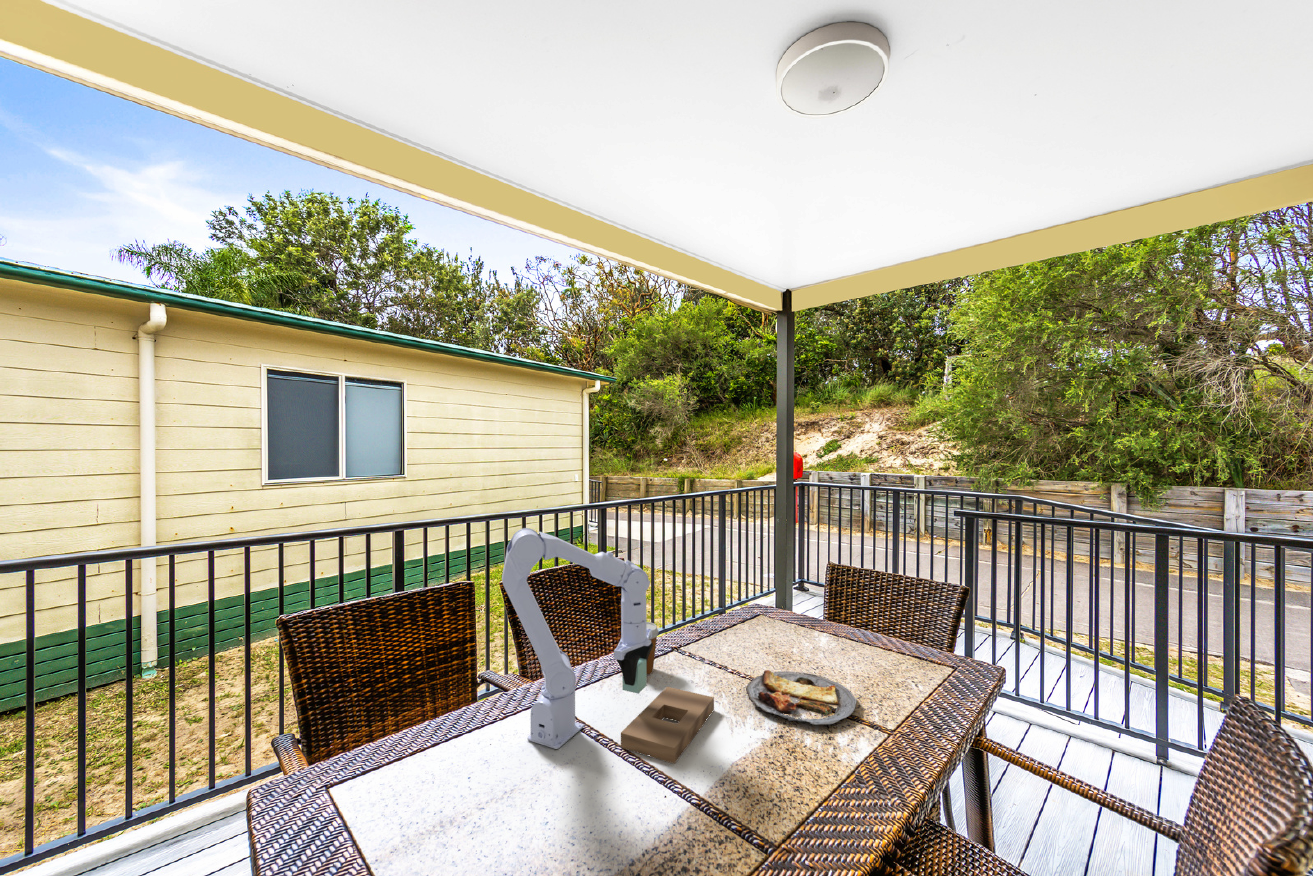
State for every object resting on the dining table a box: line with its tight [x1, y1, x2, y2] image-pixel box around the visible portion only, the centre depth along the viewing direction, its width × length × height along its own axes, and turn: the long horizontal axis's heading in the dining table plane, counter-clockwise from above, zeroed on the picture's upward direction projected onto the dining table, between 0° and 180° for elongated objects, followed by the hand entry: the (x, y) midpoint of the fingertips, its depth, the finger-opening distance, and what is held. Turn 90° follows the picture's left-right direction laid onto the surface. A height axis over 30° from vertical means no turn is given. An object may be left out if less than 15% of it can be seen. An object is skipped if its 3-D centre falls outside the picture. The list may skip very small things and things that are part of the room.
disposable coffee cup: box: [646, 621, 659, 675], centre depth 137 cm, size 10×10×12 cm
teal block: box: [621, 658, 648, 694], centre depth 113 cm, size 4×4×6 cm
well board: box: [620, 686, 715, 765], centre depth 109 cm, size 22×12×3 cm, turn 153°
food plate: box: [745, 669, 857, 726], centre depth 120 cm, size 25×23×4 cm
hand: (634, 680), depth 113 cm, fingers closed on teal block, 4 cm apart
